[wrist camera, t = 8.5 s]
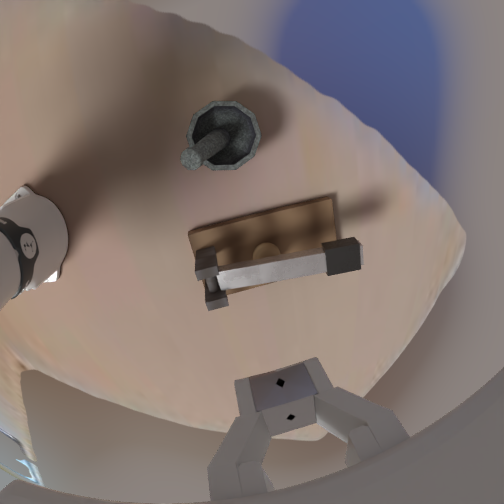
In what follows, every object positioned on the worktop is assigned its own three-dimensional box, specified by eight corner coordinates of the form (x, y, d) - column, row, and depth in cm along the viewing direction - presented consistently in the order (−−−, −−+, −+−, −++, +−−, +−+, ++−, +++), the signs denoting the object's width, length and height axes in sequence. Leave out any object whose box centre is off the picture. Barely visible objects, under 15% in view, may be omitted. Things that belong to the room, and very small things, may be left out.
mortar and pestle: (229, 96, 38) (238, 77, 27) (264, 143, 41) (285, 141, 30) (170, 139, 39) (157, 135, 28) (206, 185, 42) (207, 198, 31)
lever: (223, 285, 42) (221, 294, 40) (216, 262, 41) (214, 270, 38) (358, 260, 40) (364, 268, 38) (357, 236, 38) (363, 242, 36)
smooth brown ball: (253, 267, 46) (258, 278, 42) (247, 242, 45) (252, 252, 41) (278, 260, 47) (286, 271, 43) (274, 235, 45) (281, 244, 41)
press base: (208, 294, 49) (210, 326, 40) (188, 231, 44) (184, 253, 35) (334, 258, 51) (360, 282, 42) (326, 196, 46) (355, 209, 37)
